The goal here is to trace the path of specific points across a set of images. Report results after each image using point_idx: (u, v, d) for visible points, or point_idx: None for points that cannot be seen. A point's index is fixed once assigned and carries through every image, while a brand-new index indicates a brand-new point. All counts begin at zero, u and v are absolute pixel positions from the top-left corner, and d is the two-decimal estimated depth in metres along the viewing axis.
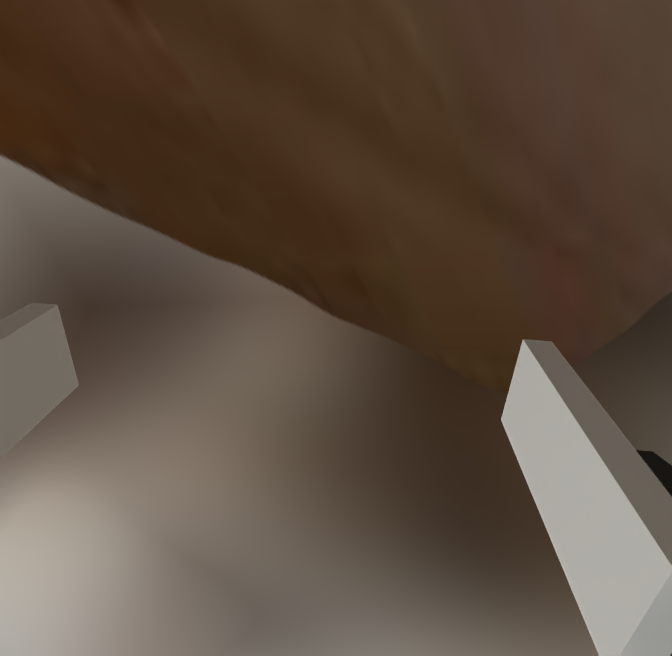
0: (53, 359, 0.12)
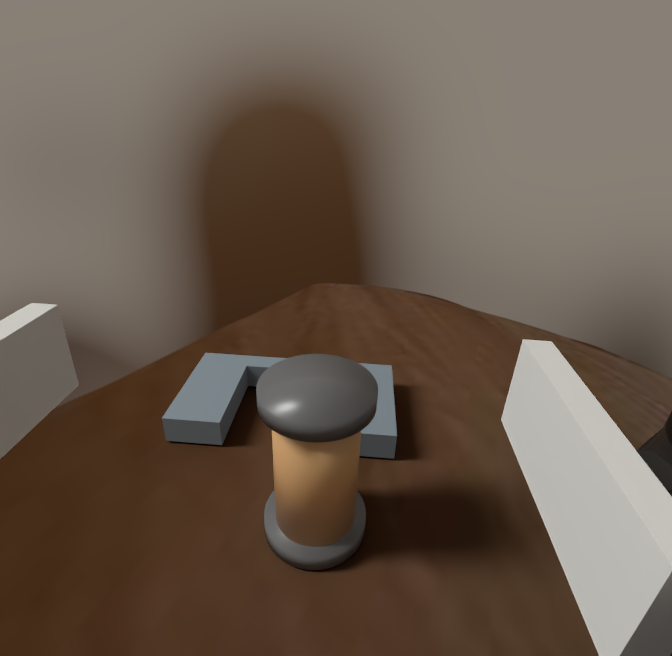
0: (53, 359, 0.12)
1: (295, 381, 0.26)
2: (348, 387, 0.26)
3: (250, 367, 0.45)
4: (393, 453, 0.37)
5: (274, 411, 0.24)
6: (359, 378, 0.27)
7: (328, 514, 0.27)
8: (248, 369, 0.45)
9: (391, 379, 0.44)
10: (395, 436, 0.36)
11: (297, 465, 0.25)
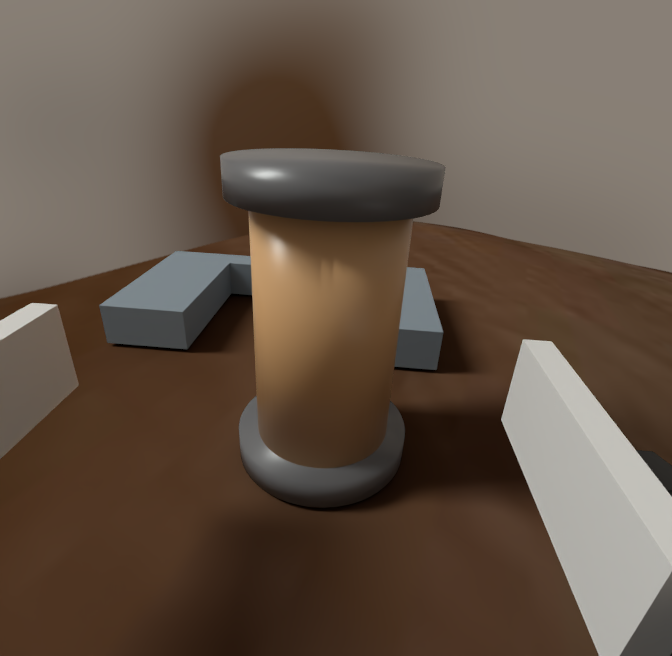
0: (53, 359, 0.12)
1: (293, 156, 0.14)
2: (389, 162, 0.14)
3: (234, 265, 0.33)
4: (436, 361, 0.25)
5: (250, 165, 0.12)
6: (407, 160, 0.15)
7: (347, 404, 0.15)
8: (231, 268, 0.33)
9: (426, 280, 0.32)
10: (440, 333, 0.24)
11: (294, 298, 0.14)
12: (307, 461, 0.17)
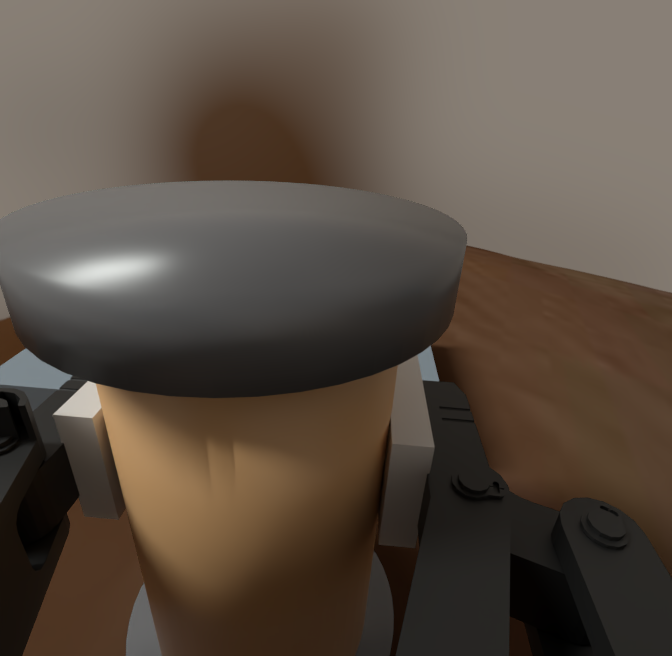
0: None
1: (175, 206, 0.08)
2: (357, 221, 0.07)
3: None
4: None
5: (15, 253, 0.05)
6: (392, 210, 0.08)
7: (287, 647, 0.09)
8: None
9: None
10: None
11: (164, 497, 0.07)
12: None
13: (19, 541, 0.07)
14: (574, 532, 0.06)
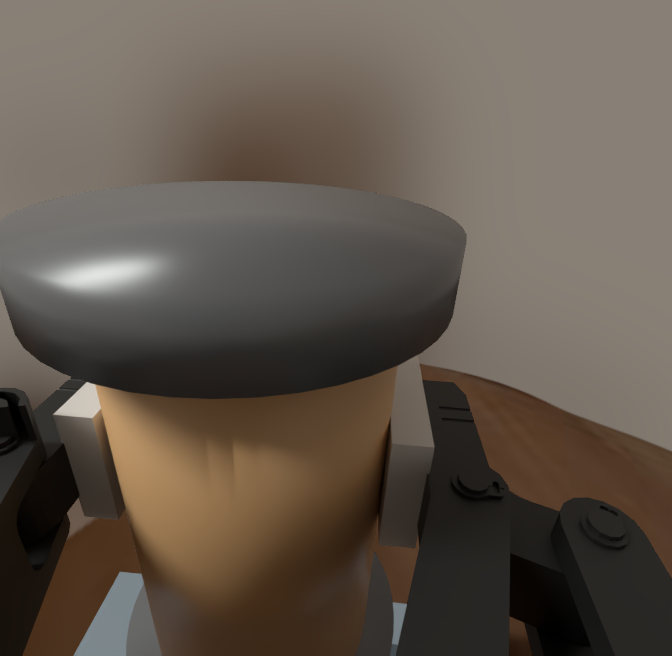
0: None
1: (175, 206, 0.08)
2: (356, 221, 0.07)
3: None
4: None
5: (14, 254, 0.05)
6: (391, 210, 0.08)
7: (287, 648, 0.09)
8: None
9: None
10: None
11: (164, 498, 0.07)
12: None
13: (19, 541, 0.07)
14: (574, 532, 0.06)
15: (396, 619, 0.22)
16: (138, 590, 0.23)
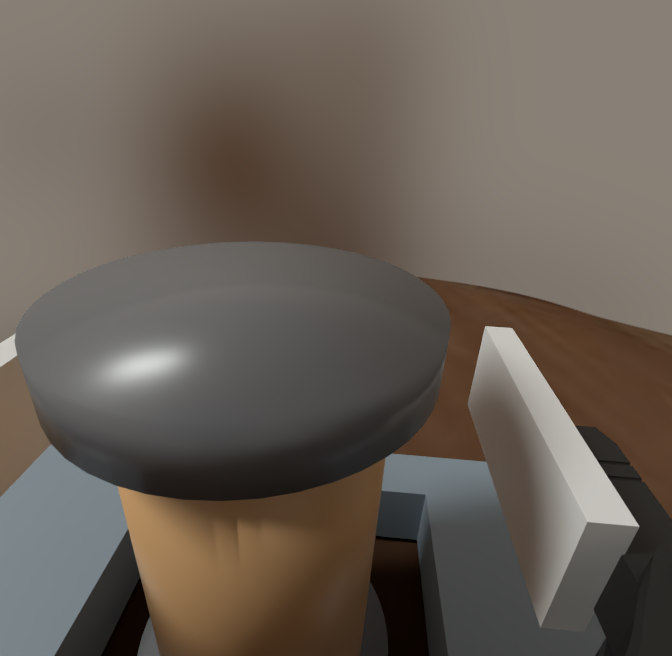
0: None
1: (182, 287, 0.08)
2: (350, 304, 0.08)
3: None
4: None
5: (43, 366, 0.06)
6: (383, 285, 0.09)
7: None
8: None
9: None
10: None
11: (174, 563, 0.07)
12: None
13: None
14: None
15: (421, 471, 0.17)
16: None
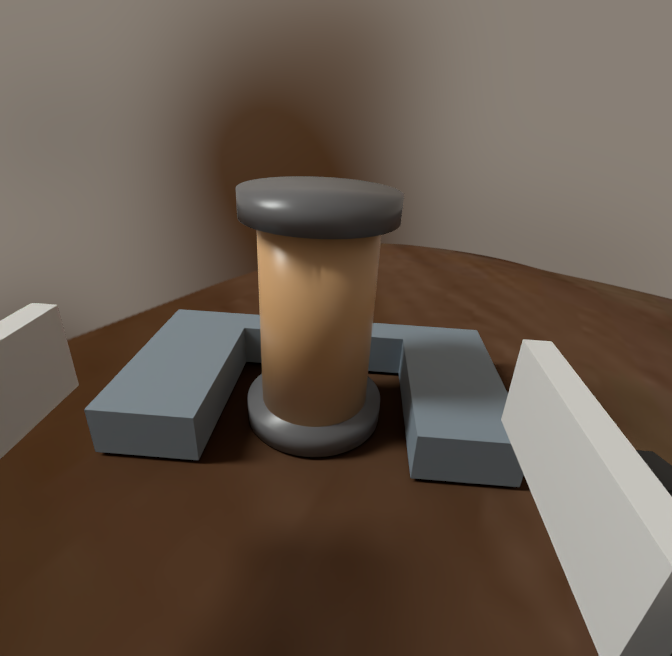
0: (53, 359, 0.12)
1: (290, 186, 0.19)
2: (362, 191, 0.19)
3: (250, 330, 0.28)
4: (520, 477, 0.20)
5: (259, 198, 0.17)
6: (376, 188, 0.20)
7: (332, 375, 0.20)
8: (247, 333, 0.28)
9: (484, 350, 0.26)
10: None
11: (292, 294, 0.18)
12: (302, 421, 0.21)
13: None
14: None
15: (401, 330, 0.28)
16: (195, 316, 0.29)
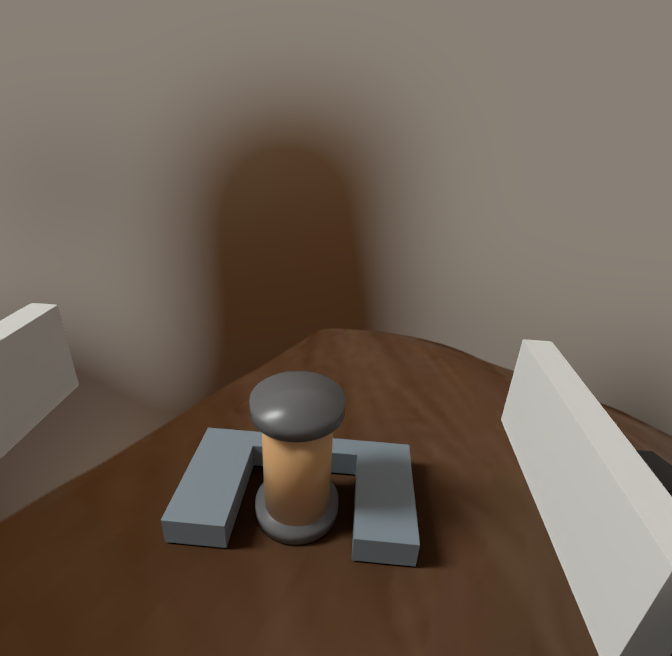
0: (53, 359, 0.12)
1: (280, 394, 0.33)
2: (322, 399, 0.33)
3: (256, 447, 0.42)
4: (415, 561, 0.34)
5: (263, 418, 0.31)
6: (331, 392, 0.34)
7: (306, 499, 0.34)
8: (254, 449, 0.42)
9: (409, 464, 0.40)
10: (418, 545, 0.33)
11: (281, 460, 0.32)
12: (288, 523, 0.35)
13: None
14: None
15: (357, 446, 0.42)
16: (219, 434, 0.43)
